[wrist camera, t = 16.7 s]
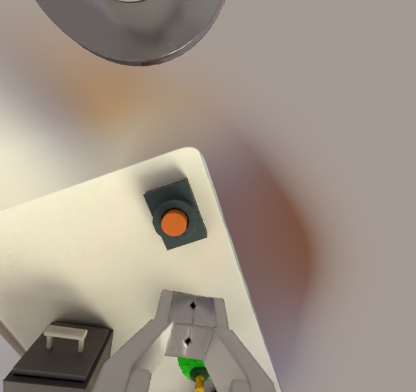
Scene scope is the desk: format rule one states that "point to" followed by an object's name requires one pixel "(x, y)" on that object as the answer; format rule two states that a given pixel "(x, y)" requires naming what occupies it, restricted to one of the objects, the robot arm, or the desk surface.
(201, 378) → the ornament
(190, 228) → the control block
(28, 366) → the drawer
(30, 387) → the small drawer cabinet
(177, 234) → the button
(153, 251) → the desk surface
